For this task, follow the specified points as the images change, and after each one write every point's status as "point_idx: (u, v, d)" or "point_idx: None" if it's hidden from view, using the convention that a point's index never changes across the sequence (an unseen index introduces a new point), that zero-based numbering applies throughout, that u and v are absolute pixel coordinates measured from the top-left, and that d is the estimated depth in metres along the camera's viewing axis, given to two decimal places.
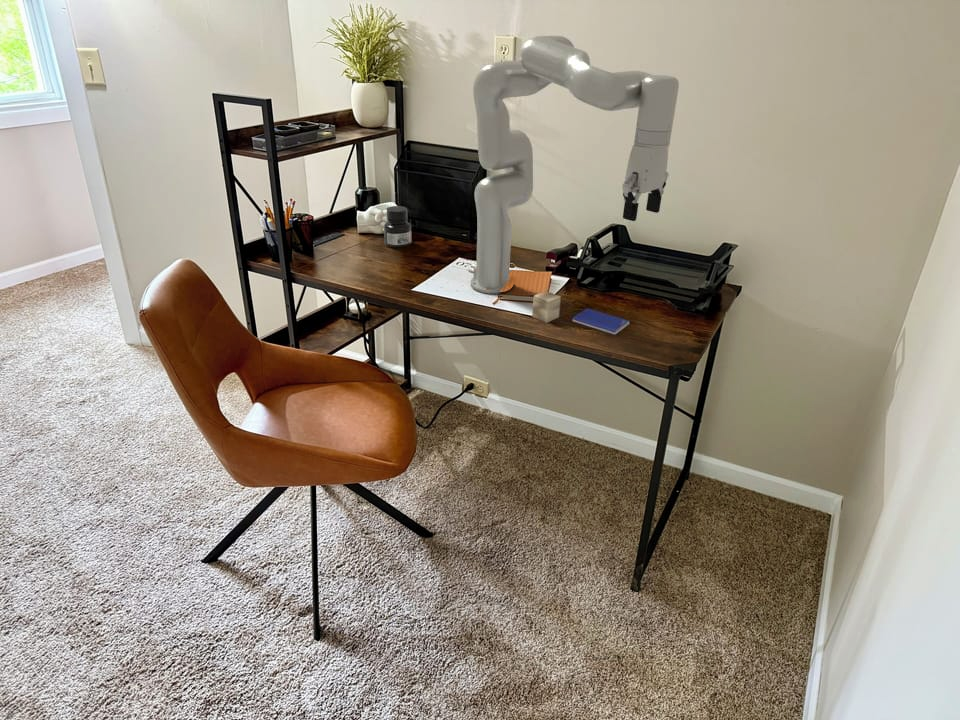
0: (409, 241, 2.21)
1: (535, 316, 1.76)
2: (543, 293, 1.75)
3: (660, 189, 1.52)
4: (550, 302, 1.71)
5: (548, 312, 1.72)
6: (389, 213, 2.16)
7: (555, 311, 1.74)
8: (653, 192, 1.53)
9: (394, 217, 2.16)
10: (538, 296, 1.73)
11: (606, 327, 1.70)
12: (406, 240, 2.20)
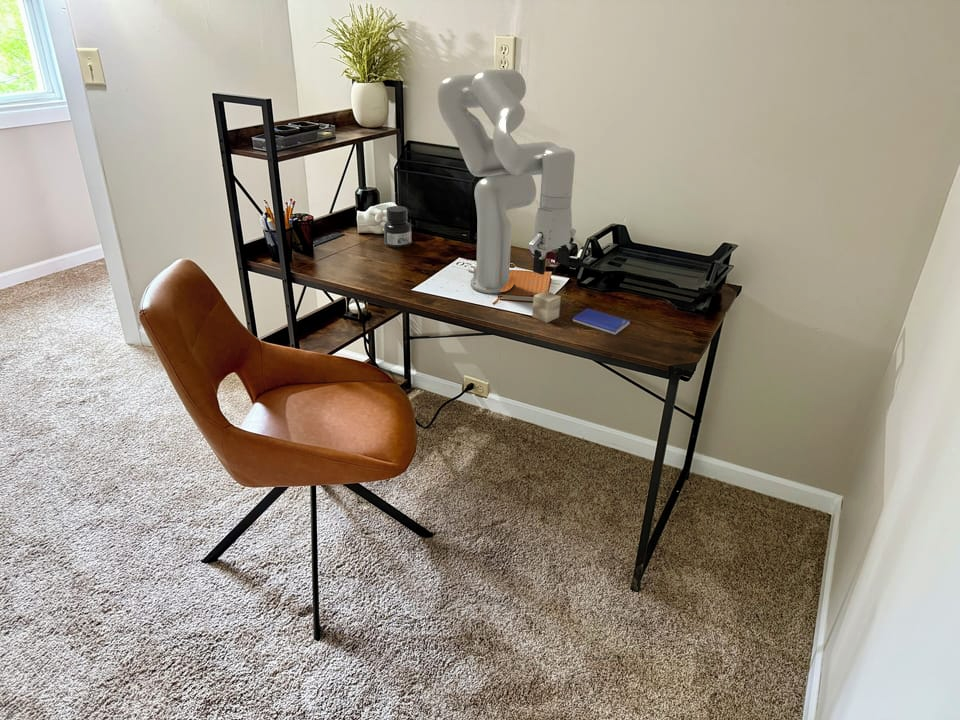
0: (409, 241, 2.21)
1: (535, 316, 1.76)
2: (543, 293, 1.75)
3: (567, 245, 1.69)
4: (550, 302, 1.71)
5: (548, 311, 1.72)
6: (389, 213, 2.16)
7: (555, 311, 1.74)
8: (562, 247, 1.71)
9: (394, 217, 2.16)
10: (538, 296, 1.73)
11: (606, 327, 1.70)
12: (406, 240, 2.20)
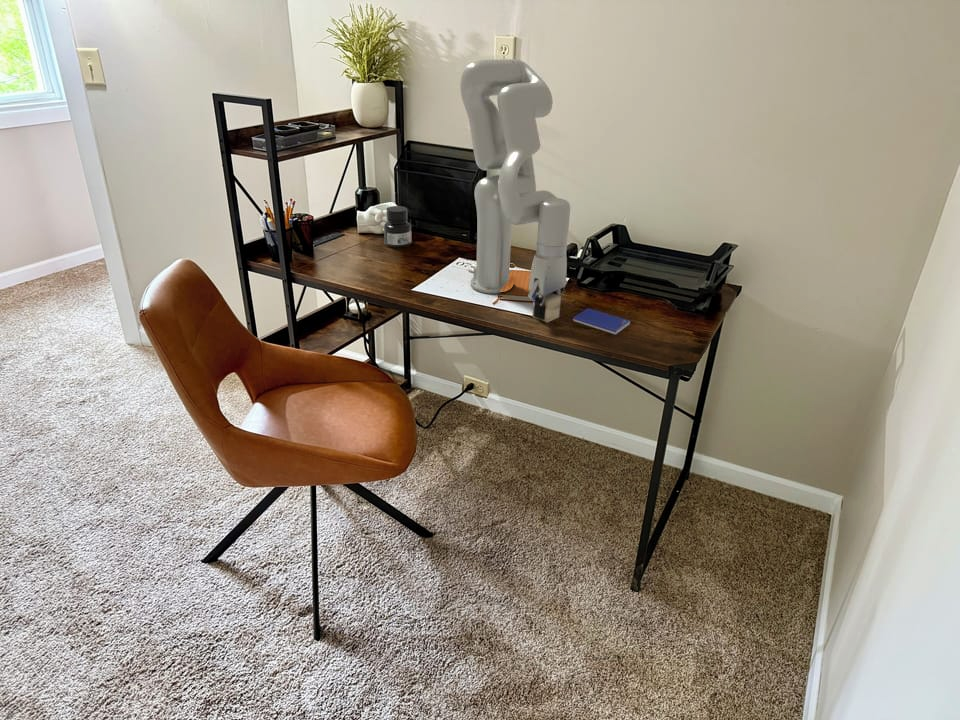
0: (409, 241, 2.21)
1: None
2: None
3: (557, 294, 1.75)
4: (550, 302, 1.71)
5: (548, 311, 1.72)
6: (389, 213, 2.16)
7: (555, 311, 1.74)
8: None
9: (394, 217, 2.16)
10: (539, 296, 1.73)
11: (606, 327, 1.70)
12: (406, 240, 2.20)
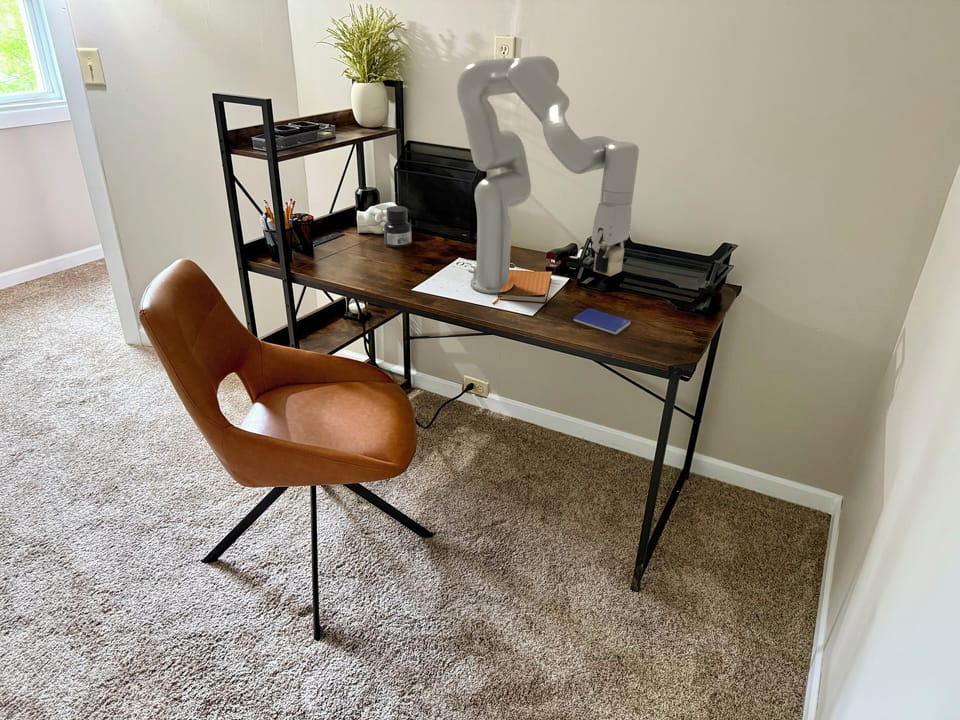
0: (409, 241, 2.21)
1: None
2: None
3: None
4: (614, 254, 1.62)
5: (612, 264, 1.63)
6: (389, 213, 2.16)
7: (618, 264, 1.65)
8: None
9: (394, 217, 2.16)
10: None
11: (607, 327, 1.70)
12: (406, 240, 2.20)
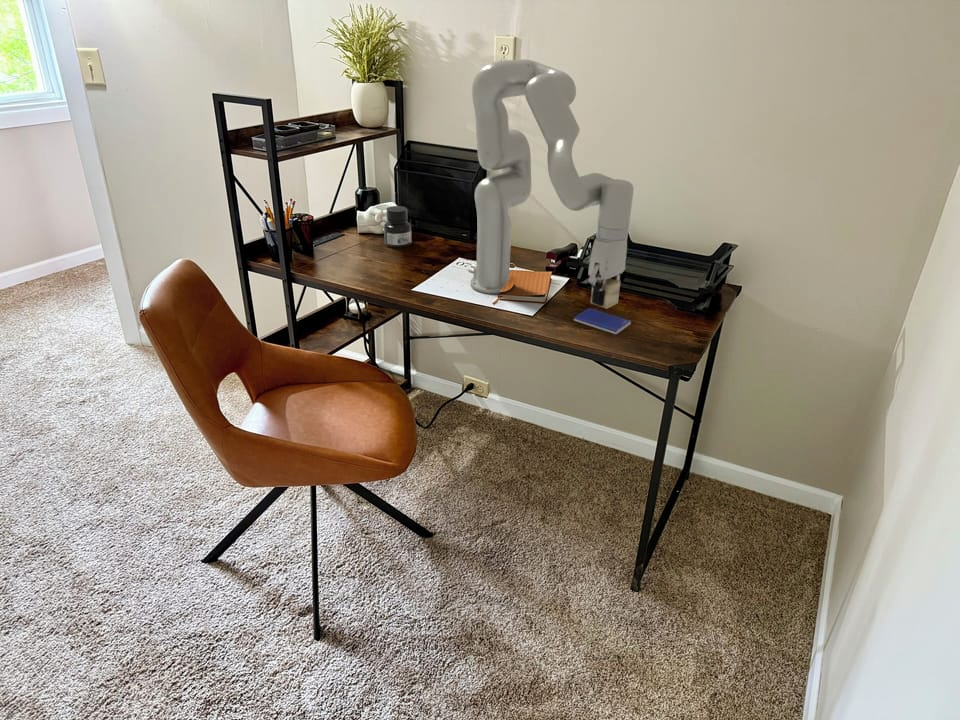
0: (409, 241, 2.21)
1: None
2: None
3: None
4: (610, 287, 1.66)
5: (608, 297, 1.67)
6: (389, 213, 2.16)
7: (614, 296, 1.70)
8: None
9: (394, 217, 2.16)
10: (598, 281, 1.68)
11: (607, 327, 1.70)
12: (406, 240, 2.20)
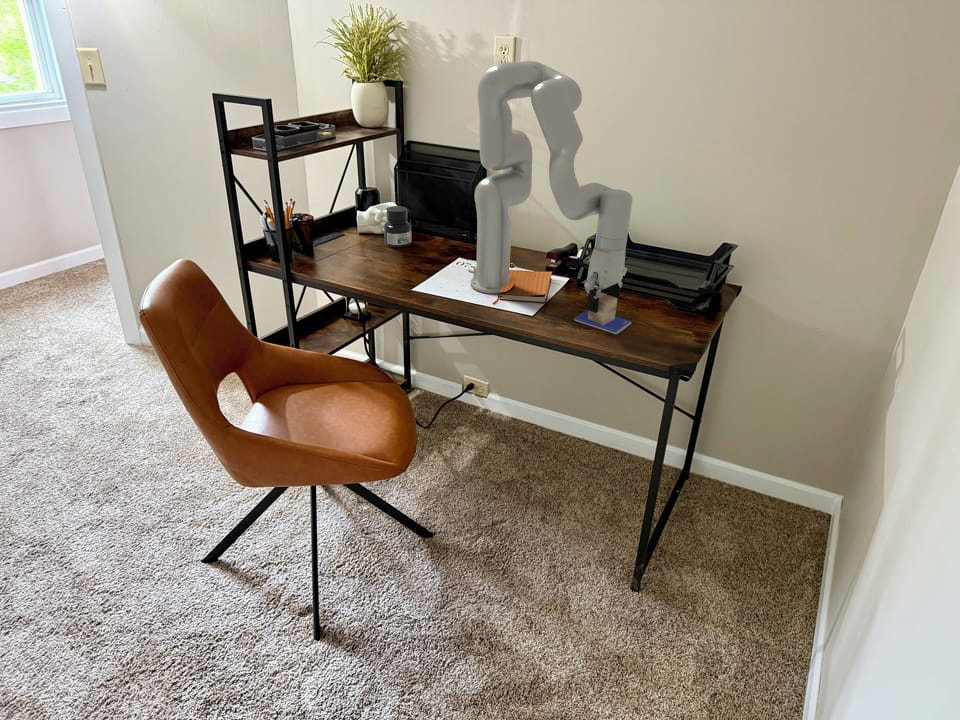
0: (409, 241, 2.21)
1: (591, 318, 1.73)
2: (599, 295, 1.73)
3: (619, 283, 1.72)
4: (607, 304, 1.69)
5: (605, 314, 1.70)
6: (389, 213, 2.16)
7: (611, 313, 1.72)
8: (613, 285, 1.73)
9: (394, 217, 2.16)
10: None
11: (607, 327, 1.70)
12: (406, 240, 2.20)
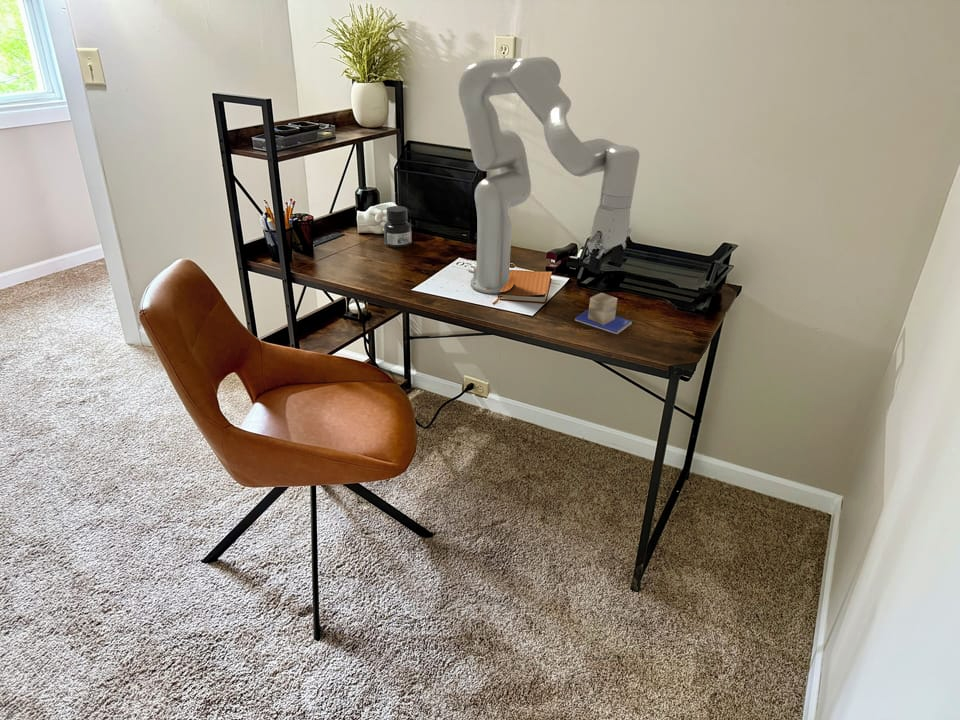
0: (409, 241, 2.21)
1: (591, 318, 1.73)
2: (599, 294, 1.73)
3: (623, 244, 1.67)
4: (607, 304, 1.69)
5: (605, 314, 1.70)
6: (389, 213, 2.16)
7: (611, 313, 1.72)
8: (617, 246, 1.69)
9: (394, 217, 2.16)
10: (595, 298, 1.71)
11: (608, 327, 1.70)
12: (406, 240, 2.20)
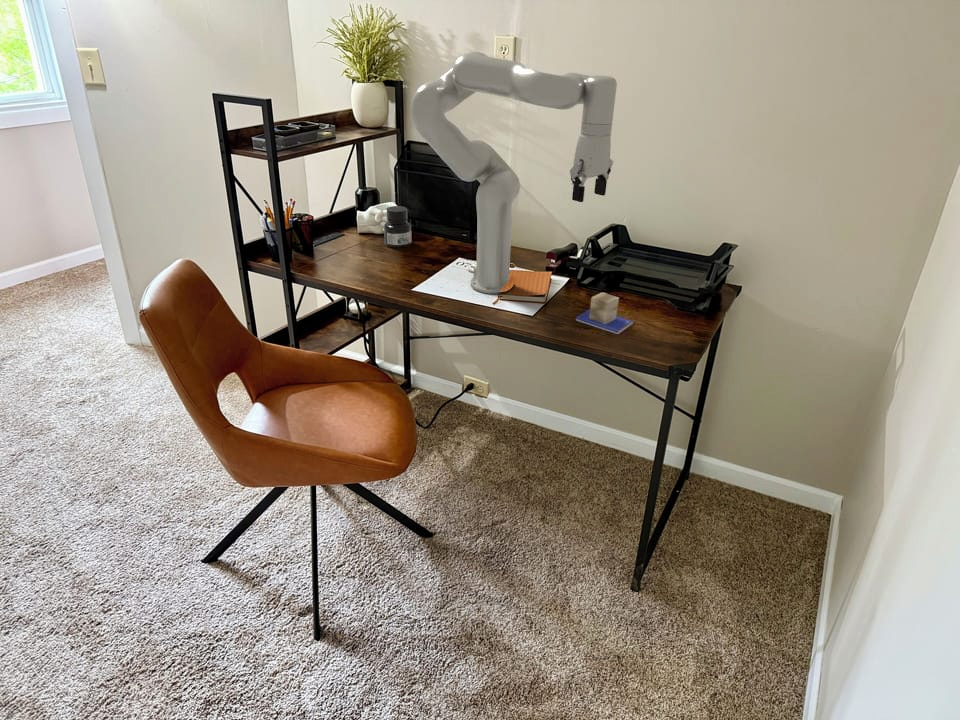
0: (409, 241, 2.21)
1: (592, 318, 1.74)
2: (600, 294, 1.73)
3: (605, 175, 1.75)
4: (609, 303, 1.69)
5: (607, 313, 1.70)
6: (389, 213, 2.16)
7: (613, 312, 1.72)
8: (599, 177, 1.76)
9: (394, 217, 2.16)
10: (596, 297, 1.71)
11: (609, 327, 1.70)
12: (406, 240, 2.20)
